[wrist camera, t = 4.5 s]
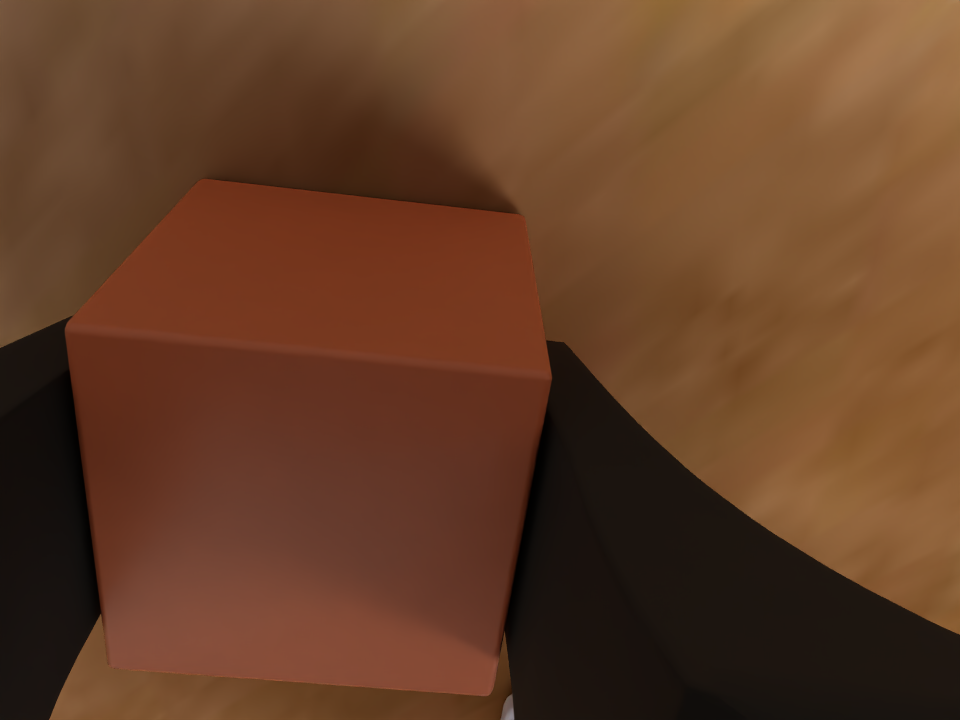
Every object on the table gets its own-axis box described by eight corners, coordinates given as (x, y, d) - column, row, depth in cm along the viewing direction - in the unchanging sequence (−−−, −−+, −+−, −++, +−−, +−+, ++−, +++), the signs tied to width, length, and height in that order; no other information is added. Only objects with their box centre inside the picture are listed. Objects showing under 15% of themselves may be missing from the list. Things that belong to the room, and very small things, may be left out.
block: (198, 175, 11) (58, 325, 7) (526, 212, 11) (554, 374, 7) (209, 446, 13) (105, 671, 9) (485, 472, 13) (493, 700, 9)
